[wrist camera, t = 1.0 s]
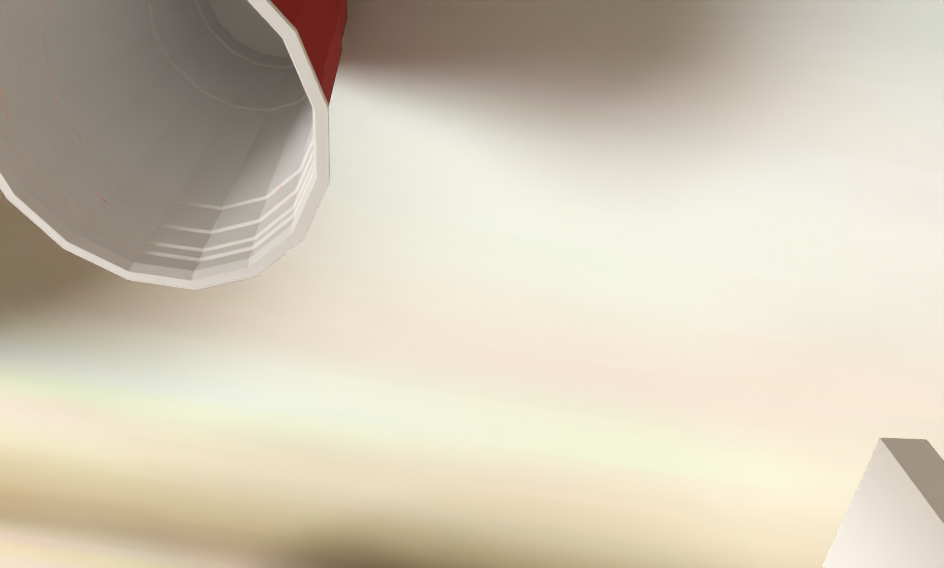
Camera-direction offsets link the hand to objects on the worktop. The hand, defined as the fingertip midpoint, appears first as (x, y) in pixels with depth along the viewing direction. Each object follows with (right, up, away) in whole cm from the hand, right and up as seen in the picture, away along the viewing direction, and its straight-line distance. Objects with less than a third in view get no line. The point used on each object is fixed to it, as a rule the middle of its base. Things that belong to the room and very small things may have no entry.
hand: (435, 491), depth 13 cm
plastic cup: (-7, +14, +21) cm, 26 cm away
